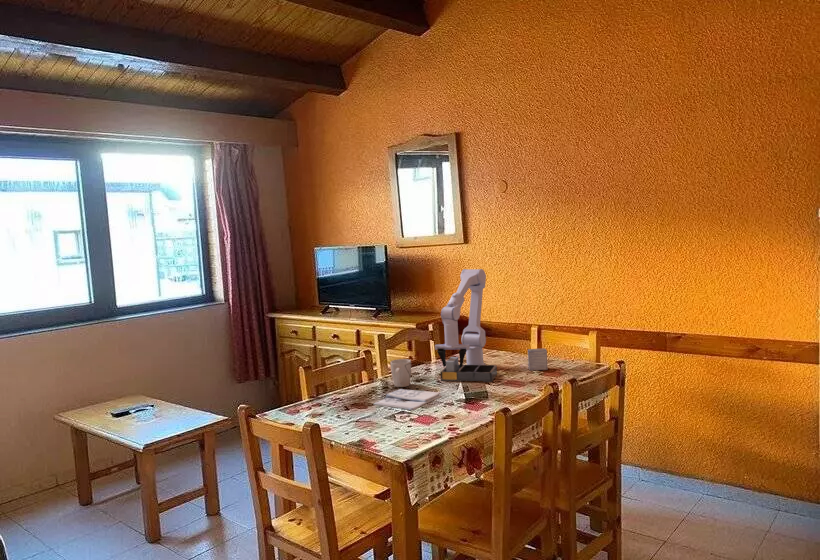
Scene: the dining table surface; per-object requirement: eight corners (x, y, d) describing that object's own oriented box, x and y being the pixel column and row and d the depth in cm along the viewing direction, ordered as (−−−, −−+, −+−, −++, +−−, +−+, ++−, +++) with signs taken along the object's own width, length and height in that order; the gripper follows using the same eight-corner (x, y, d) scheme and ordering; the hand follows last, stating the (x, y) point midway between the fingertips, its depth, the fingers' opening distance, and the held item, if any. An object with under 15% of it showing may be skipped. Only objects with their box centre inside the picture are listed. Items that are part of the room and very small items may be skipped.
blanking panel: (451, 373, 264) (450, 357, 263) (458, 373, 263) (458, 357, 262) (446, 378, 255) (445, 361, 255) (454, 378, 254) (453, 361, 254)
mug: (408, 390, 243) (407, 365, 243) (387, 390, 245) (386, 365, 244) (414, 382, 255) (412, 358, 254) (394, 382, 256) (392, 359, 255)
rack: (448, 372, 267) (448, 364, 267) (496, 373, 261) (496, 365, 261) (440, 381, 254) (440, 372, 254) (491, 382, 248) (491, 373, 248)
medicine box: (546, 367, 267) (545, 348, 266) (547, 370, 263) (547, 350, 262) (528, 368, 268) (527, 348, 267) (529, 370, 263) (528, 350, 263)
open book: (442, 397, 232) (441, 392, 232) (412, 412, 216) (412, 406, 216) (401, 392, 243) (400, 386, 243) (369, 406, 227) (369, 400, 226)
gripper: (432, 336, 257) (434, 368, 258) (466, 336, 252) (468, 368, 253) (436, 333, 263) (438, 364, 264) (469, 333, 259) (471, 364, 260)
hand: (452, 366), depth 259 cm, fingers open, 7 cm apart
